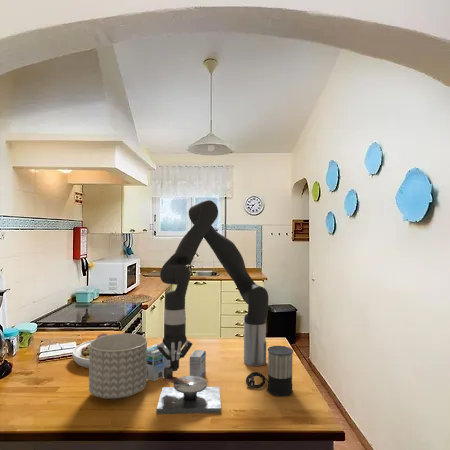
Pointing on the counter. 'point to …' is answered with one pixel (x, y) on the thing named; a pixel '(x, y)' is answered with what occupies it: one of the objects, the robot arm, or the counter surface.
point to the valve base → (189, 401)
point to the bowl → (83, 353)
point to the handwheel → (184, 382)
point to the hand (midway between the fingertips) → (174, 370)
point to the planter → (117, 365)
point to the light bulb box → (156, 362)
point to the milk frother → (276, 372)
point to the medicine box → (198, 363)
